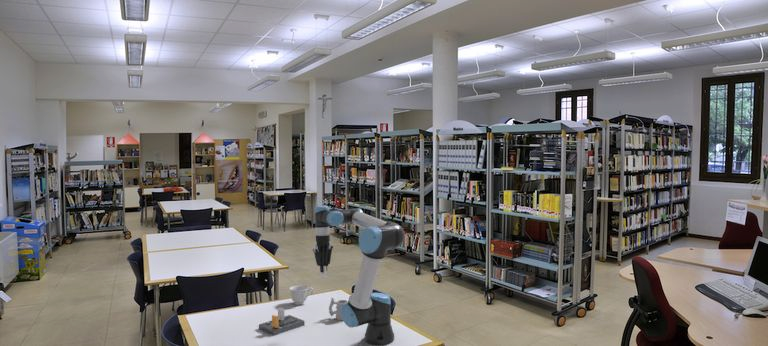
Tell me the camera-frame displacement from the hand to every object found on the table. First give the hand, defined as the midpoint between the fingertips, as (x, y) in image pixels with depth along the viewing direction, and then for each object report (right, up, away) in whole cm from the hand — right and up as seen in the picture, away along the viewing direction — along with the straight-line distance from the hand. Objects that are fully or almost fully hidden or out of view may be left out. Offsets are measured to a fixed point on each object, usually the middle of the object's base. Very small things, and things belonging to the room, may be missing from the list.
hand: (323, 277), depth 254 cm
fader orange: (-25, -25, -5) cm, 36 cm away
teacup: (-20, -26, +43) cm, 54 cm away
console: (-23, -28, +3) cm, 36 cm away
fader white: (-25, -25, +6) cm, 36 cm away
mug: (+7, -27, +16) cm, 32 cm away
